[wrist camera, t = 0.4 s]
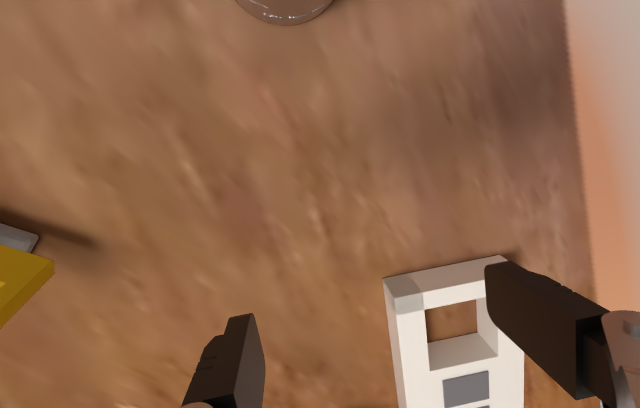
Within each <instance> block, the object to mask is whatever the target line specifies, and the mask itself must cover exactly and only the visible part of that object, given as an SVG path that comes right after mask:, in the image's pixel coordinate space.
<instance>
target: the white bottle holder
mask: <svg viewBox="0 0 640 408" xmlns="http://www.w3.org/2000/svg"><path fill="white" fill-rule="evenodd" d="M504 261H508V260H507V259H505V258H504V257H502V256H501V255H496V256H491V257H486V258H481V259H476V260H471V261H467V262H462V263H457V264H452V265H447V266H442V267H437V268H432V269H427V270H422V271H417V272H412V273H407V274H402V275H397V276H392V277H388V278H383V287H384V295H385V302H386V310H387V318H388V326H389V334H390V342H391V350H392V358H393V366H394V374H395V382H396V389H397V397H398V405H399V408H524V352H523V351H522V350H521V349H520V348H519V347H518V346H517V345H516V344H515V343H514V342H513V341H512V340H510V339H509V338H508V337H507V336H506V335H505V334H504V333H503V332H502V331H501V330H500V329H499V328H498V327H496V326H495V325H494V323H493V322H492V320H491V319H490V317H489V314H488V311H487V306H486V293H485V279H484V269H485V266H486V265H489V264H494V263H499V262H504ZM473 299H476V307H477V333H472V334H468V335H463V336H458V337H454V338H449V339H444V340H440V341H435V342H430V343H427V335H426V324H425V312H424V310H426V309H430V308H435V307H440V306H445V305H449V304H454V303H459V302H464V301H469V300H473Z"/></svg>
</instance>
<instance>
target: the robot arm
mask: <svg viewBox="0 0 640 408" xmlns="http://www.w3.org/2000/svg"><path fill="white" fill-rule="evenodd" d="M236 1H237V2H238V3H239V4H240V5H241V6H242V7H243V8H244V9H245V10H246V11H247V12H249V13H250V14H252V15H253V16H254V17H256V18H258V19H260V20H263V21H265V22H267V23H271V24H276V25H281V26H283V25H297V24H300V23H304V22H307V21H309V20H311V19H313V18H314V17H316V16H318V15H319V14H320V13H322V12H323V11H324V10H325V9H326V8H327V7H328V6H329V5H330V4H331V2H332V1H333V0H236ZM484 279H485V293H486V306H487V311H488V314H489V317H490V319H491V320H492V322H493V323H494V325H495V326H496V327H498V328H499V329H500V330H501V331H502V332H503V333H504V334H505V335H506V336H507V337H508V338H509V339H510V340H512V341H513V342H514V343H515V344H516V345H517V346H518V347H519V348H520V349H521V350H522V351H523V352H524V353H526V354H527V355H528V356H529V357H530V358H531V359H532V360H533V361H534V362H535V363H536V364H537V365H538V366H540V367H541V368H542V369H543V370H544V371H545V372H546V373H547V374H548V375H549V376H550V377H551V378H552V379H554V380H555V381H556V382H557V383H558V384H559V385H560V386H561V387H562V388H563V389H564V390H565V391H566V392H568V393H569V394H570V395H571V396H572V397H573V398H574V399H575V400H580V399H584V398H588V397H593V396H597V397H598V398H599V399H600V408H640V312H636V311H626V310H623V311H622V310H619V311H612V312H610V311H609V310H607V309H605V308H603V307H601V306H600V305H598V304H596V303H594V302H592V301H591V300H589V299H587V298H585V297H583V296H582V295H580V294H578V293H576V292H572V290H571V289H569V288H567V287H565V286H561V284H560V283H558V282H556V281H554V280H552V279H551V278H549V277H547V276H544V275H540V274H537V273H534V272H530V271H527V270H526V269H524V268H522V267H520V266H519V265H517V264H515V263H513V262H512V261H504V262H499V263H494V264H489V265H486V266H485V269H484ZM264 382H265V360H264V354H263V350H262V345H261V341H260V337H259V333H258V329H257V325H256V321H255V317H254V315H253V313H249V314H244V315H240V316H235V317H230V318H229V320H228V323H227V326H226V329H225V332H224V335H219V336H215V337H214V338H213V339H212V340H211V341H210V342H209V343H208V345H207V346H206V347H205V348H204V350H203V353H202V355H201V358H200V362H199V363H198V365H197V368H196V372H195V373H194V375H193V378H192V380H191V383H190V385H189V388H188V390H187V393H186V395H185V398H184V400H183V403H182V405H181V407H180V408H262V402H263V392H264Z"/></svg>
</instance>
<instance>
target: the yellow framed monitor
mask: <svg viewBox="0 0 640 408" xmlns="http://www.w3.org/2000/svg"><path fill="white" fill-rule="evenodd" d="M38 238H39V237H38V235H36V234H33V233H30V232H27V231H23V230H20V229H17V228H14V227H11V226H8V225H5V224H1V223H0V329H1V328H2V327H3V325H4V324H5V323H6V322H7V321H8V320H9V319H10V318H11V317H12V316H13V315H14V314H15V313H16V312H17V311H18V310H19V309H20V308H21V307H22V306H23V305H24V304H25V303H26V302H27V301H28V300H29V299H30V298H31V297H32V296H33V295H34V294H35V293H36V292H37V291H38V290H39V289H40V288H41V287H42V286H43V285H44V284H45V283H46V282H47V281H48V280H49V279H50V278H51V277H52V276H53V275H54V274H55V272H54V261H53V260H51V259H47V258H44V257H41V256H38V255H34V254H31V253H30V252H31V251H32V249H33V247H34V245H35V244H36V242H37V240H38Z"/></svg>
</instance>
